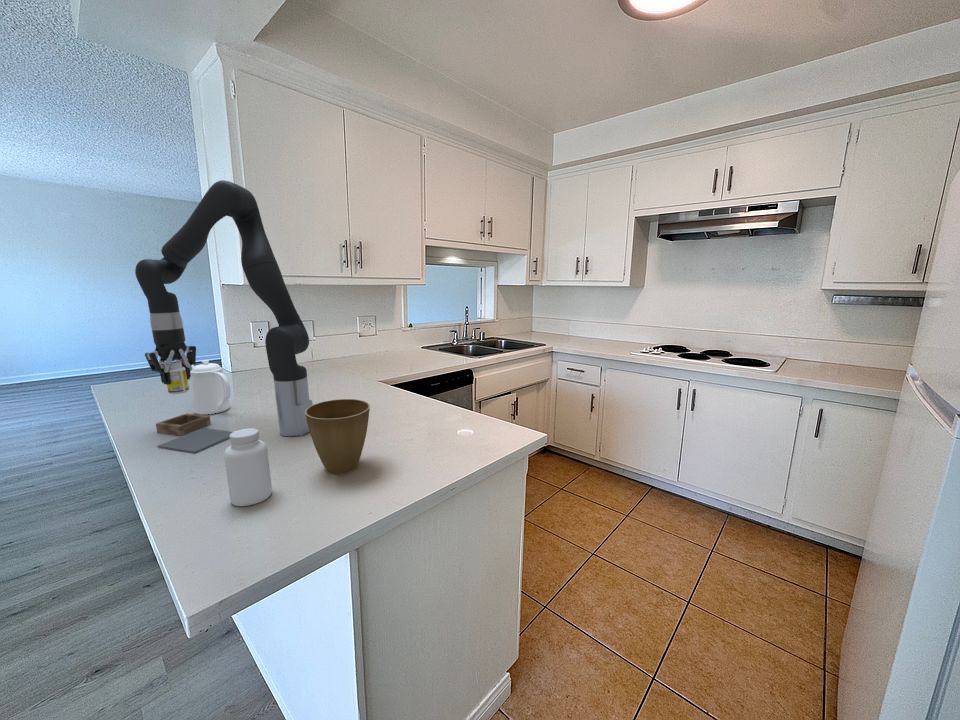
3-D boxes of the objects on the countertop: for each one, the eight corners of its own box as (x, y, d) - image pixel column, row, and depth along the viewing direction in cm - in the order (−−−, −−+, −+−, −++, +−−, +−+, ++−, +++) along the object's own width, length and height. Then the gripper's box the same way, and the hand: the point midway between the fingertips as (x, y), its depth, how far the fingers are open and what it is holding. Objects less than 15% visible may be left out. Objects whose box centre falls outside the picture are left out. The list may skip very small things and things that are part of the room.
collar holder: (210, 424, 127) (209, 416, 126) (180, 436, 118) (179, 426, 117) (188, 421, 130) (186, 413, 129) (157, 432, 120) (155, 423, 120)
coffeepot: (208, 401, 151) (201, 354, 148) (247, 411, 140) (240, 360, 136) (176, 409, 142) (168, 359, 138) (215, 420, 131) (207, 366, 127)
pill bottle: (279, 487, 89) (271, 425, 86) (261, 507, 81) (252, 440, 78) (244, 487, 88) (235, 425, 85) (222, 508, 81) (211, 440, 77)
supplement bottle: (183, 389, 125) (178, 360, 123) (193, 391, 122) (188, 361, 121) (164, 393, 120) (159, 363, 118) (174, 395, 118) (169, 364, 116)
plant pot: (307, 487, 89) (300, 421, 85) (314, 458, 103) (309, 401, 99) (374, 477, 93) (370, 414, 89) (372, 451, 107) (369, 396, 103)
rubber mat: (239, 434, 119) (239, 432, 119) (195, 453, 106) (194, 451, 106) (204, 429, 123) (204, 427, 123) (157, 447, 110) (157, 445, 110)
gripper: (151, 330, 109) (161, 388, 113) (199, 325, 123) (208, 376, 126) (132, 330, 111) (143, 387, 115) (182, 324, 125) (190, 375, 128)
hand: (177, 381), depth 121 cm, fingers closed on supplement bottle, 5 cm apart
